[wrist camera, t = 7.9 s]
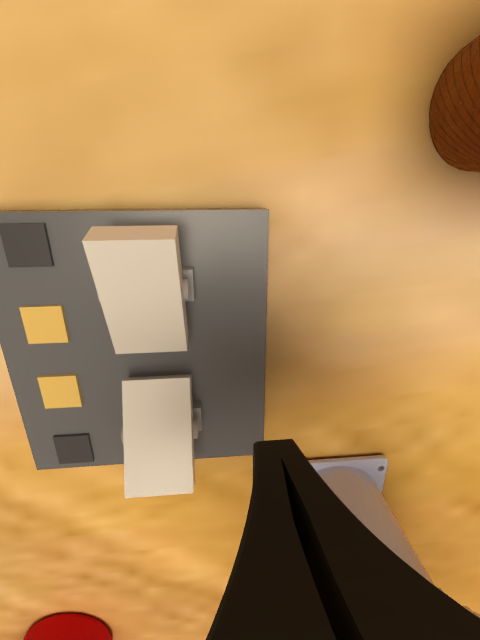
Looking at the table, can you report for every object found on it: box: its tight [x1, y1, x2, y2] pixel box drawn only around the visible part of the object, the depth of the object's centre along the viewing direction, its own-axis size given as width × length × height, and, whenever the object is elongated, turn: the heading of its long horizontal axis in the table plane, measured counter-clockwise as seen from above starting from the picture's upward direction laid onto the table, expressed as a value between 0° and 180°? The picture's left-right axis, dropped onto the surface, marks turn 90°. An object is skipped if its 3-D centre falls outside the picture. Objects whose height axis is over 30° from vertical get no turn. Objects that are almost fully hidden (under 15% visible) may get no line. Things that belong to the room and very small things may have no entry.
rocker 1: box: [82, 225, 189, 354], centre depth 15 cm, size 6×4×2 cm, turn 0°
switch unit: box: [0, 208, 269, 470], centre depth 19 cm, size 15×14×3 cm
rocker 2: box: [121, 374, 198, 498], centre depth 18 cm, size 6×4×2 cm, turn 1°
